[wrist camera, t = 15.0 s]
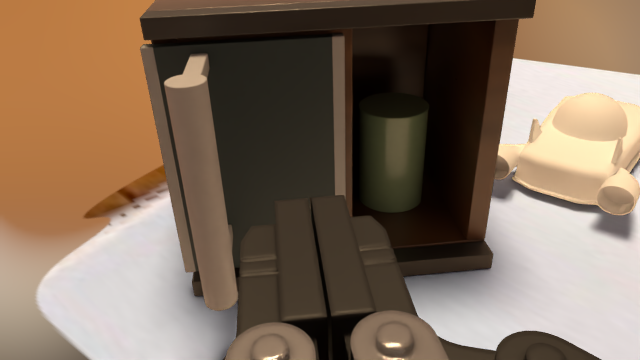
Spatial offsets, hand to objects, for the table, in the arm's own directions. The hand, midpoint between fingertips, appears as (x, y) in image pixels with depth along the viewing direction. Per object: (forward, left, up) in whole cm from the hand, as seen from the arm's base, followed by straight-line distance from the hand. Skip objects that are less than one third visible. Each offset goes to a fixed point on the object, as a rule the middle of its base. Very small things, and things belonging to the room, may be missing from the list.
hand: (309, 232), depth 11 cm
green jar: (-7, -22, -13) cm, 26 cm away
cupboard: (-3, -22, -14) cm, 26 cm away
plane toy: (-25, -27, -14) cm, 39 cm away
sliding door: (+2, -12, -13) cm, 18 cm away
